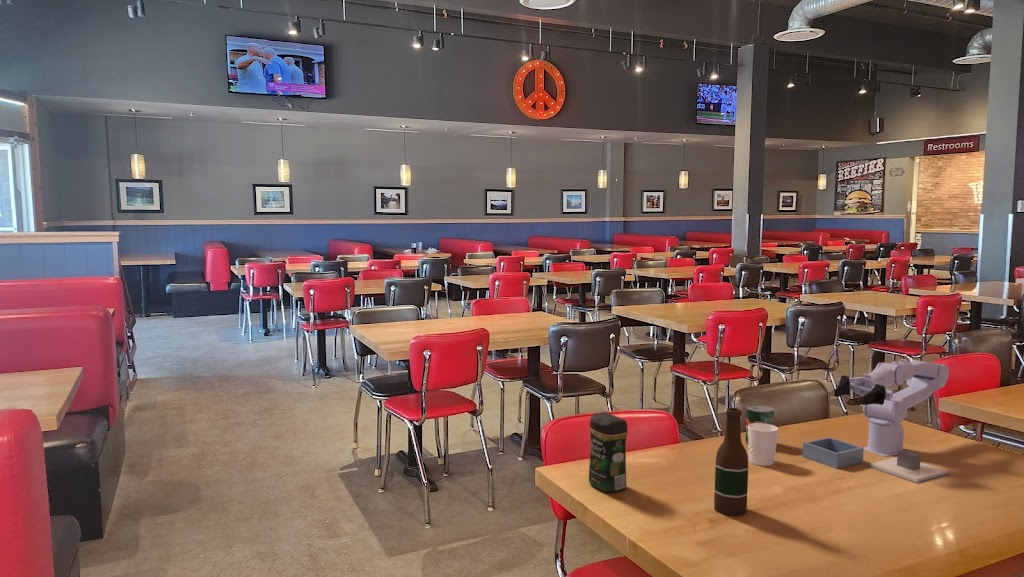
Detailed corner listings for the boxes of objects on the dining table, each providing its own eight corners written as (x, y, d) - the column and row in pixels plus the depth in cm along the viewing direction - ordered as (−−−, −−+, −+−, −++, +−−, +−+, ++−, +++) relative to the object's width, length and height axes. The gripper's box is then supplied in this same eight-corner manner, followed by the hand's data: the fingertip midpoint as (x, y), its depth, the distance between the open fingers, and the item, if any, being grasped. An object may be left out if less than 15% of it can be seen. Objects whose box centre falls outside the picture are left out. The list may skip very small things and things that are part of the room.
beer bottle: (707, 503, 168) (711, 405, 165) (739, 502, 168) (743, 404, 166) (720, 517, 160) (723, 414, 157) (753, 516, 160) (757, 413, 158)
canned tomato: (775, 442, 214) (777, 407, 213) (768, 449, 207) (770, 413, 206) (749, 437, 218) (750, 403, 217) (741, 444, 212) (743, 408, 211)
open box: (828, 452, 205) (829, 436, 205) (862, 463, 196) (863, 447, 195) (802, 457, 200) (803, 442, 200) (836, 470, 190) (837, 454, 190)
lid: (900, 458, 198) (901, 442, 198) (946, 473, 187) (948, 456, 187) (870, 466, 192) (871, 449, 192) (916, 482, 181) (918, 463, 180)
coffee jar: (583, 482, 180) (584, 412, 179) (608, 477, 184) (610, 408, 182) (605, 496, 172) (606, 421, 170) (631, 490, 176) (633, 417, 174)
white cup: (772, 457, 200) (773, 423, 199) (779, 467, 192) (781, 431, 191) (743, 456, 201) (745, 422, 200) (750, 466, 193) (751, 430, 192)
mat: (898, 458, 200) (898, 457, 200) (952, 475, 187) (952, 474, 187) (864, 467, 193) (864, 465, 193) (918, 485, 180) (918, 484, 180)
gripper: (850, 363, 204) (824, 376, 196) (901, 376, 193) (877, 391, 185) (848, 385, 206) (823, 399, 198) (900, 400, 195) (875, 415, 187)
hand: (849, 397), depth 192 cm, fingers open, 7 cm apart
